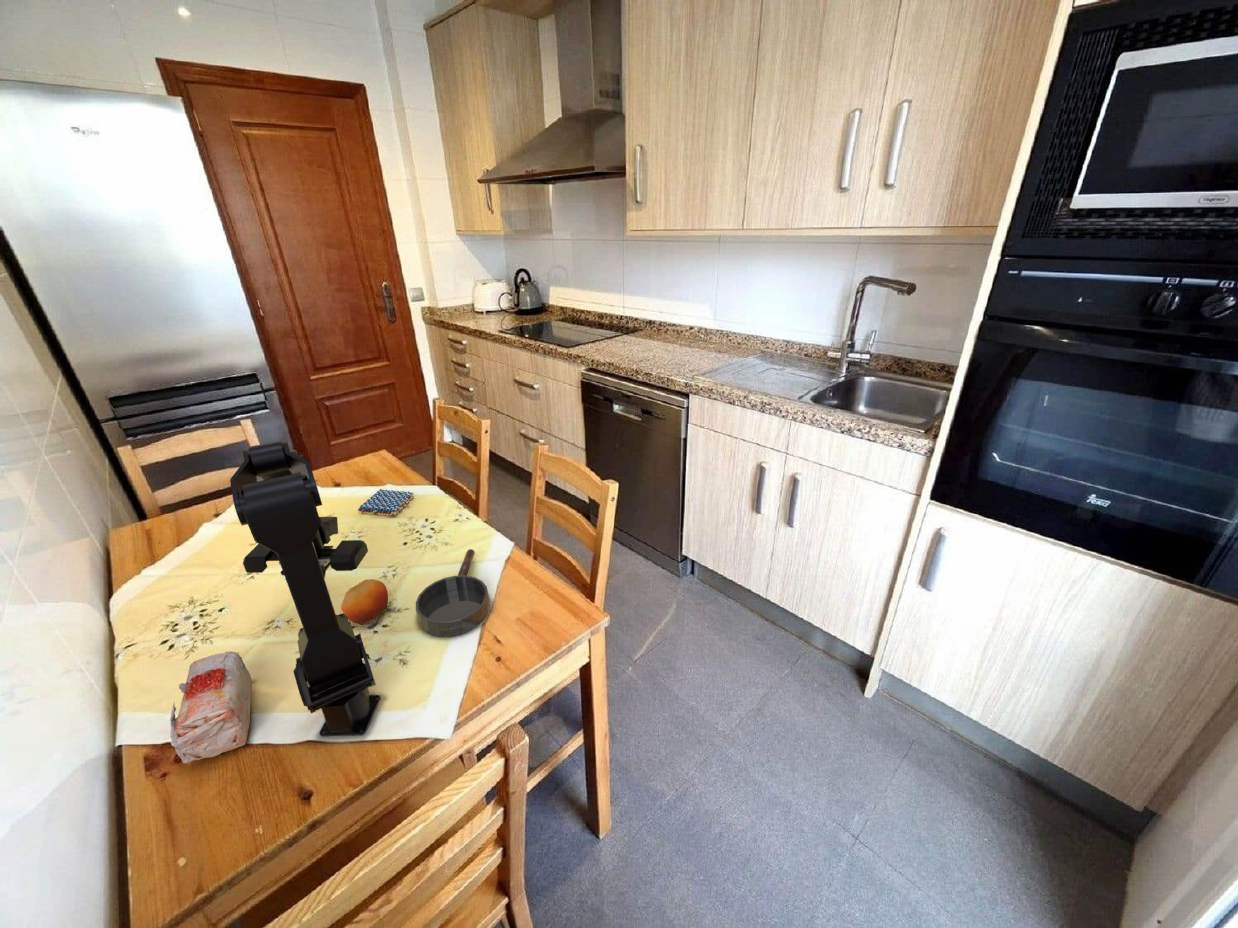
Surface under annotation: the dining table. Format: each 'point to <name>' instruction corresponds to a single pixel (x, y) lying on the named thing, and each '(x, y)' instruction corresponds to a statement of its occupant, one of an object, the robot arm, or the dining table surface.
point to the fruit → (365, 601)
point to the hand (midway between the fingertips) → (319, 593)
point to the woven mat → (386, 502)
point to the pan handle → (466, 563)
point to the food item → (212, 708)
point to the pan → (452, 606)
